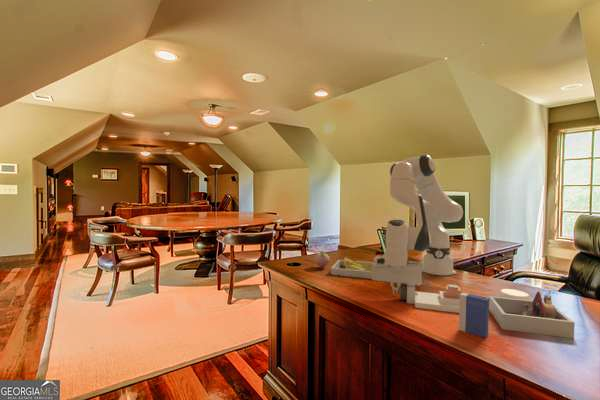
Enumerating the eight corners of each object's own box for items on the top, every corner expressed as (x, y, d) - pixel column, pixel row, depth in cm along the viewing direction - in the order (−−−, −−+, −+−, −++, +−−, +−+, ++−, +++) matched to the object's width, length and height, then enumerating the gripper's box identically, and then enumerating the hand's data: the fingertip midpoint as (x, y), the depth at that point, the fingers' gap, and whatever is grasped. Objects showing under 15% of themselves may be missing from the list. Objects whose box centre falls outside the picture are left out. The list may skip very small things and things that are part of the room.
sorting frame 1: (338, 265, 185) (338, 259, 185) (387, 269, 176) (388, 263, 176) (330, 274, 165) (330, 268, 165) (385, 280, 156) (385, 273, 156)
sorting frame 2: (488, 309, 119) (489, 296, 119) (548, 316, 113) (549, 302, 113) (502, 329, 102) (502, 313, 102) (573, 338, 96) (574, 322, 96)
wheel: (400, 296, 131) (400, 282, 131) (417, 298, 129) (417, 284, 129) (399, 301, 125) (400, 286, 125) (417, 303, 123) (417, 288, 123)
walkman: (488, 334, 98) (489, 297, 97) (486, 338, 96) (487, 299, 95) (461, 327, 103) (462, 291, 103) (458, 329, 101) (459, 293, 101)
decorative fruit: (312, 266, 182) (312, 249, 181) (325, 265, 184) (325, 248, 184) (317, 270, 173) (318, 252, 172) (331, 269, 175) (331, 252, 175)
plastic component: (379, 269, 165) (365, 264, 161) (374, 282, 164) (361, 278, 160) (355, 261, 183) (342, 256, 178) (351, 273, 182) (338, 268, 177)
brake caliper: (510, 307, 114) (535, 284, 111) (538, 329, 111) (564, 306, 108) (519, 319, 104) (547, 294, 101) (551, 344, 101) (580, 318, 98)
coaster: (515, 306, 123) (516, 297, 123) (494, 297, 133) (494, 289, 132) (535, 303, 126) (535, 295, 125) (512, 295, 135) (512, 287, 135)
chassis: (406, 295, 134) (407, 280, 134) (466, 301, 127) (467, 286, 126) (406, 306, 121) (407, 290, 121) (473, 314, 113) (474, 297, 113)
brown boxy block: (445, 297, 125) (445, 283, 125) (458, 299, 124) (459, 284, 123) (446, 302, 120) (446, 287, 120) (461, 303, 119) (461, 288, 119)
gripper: (423, 260, 128) (422, 293, 129) (372, 256, 135) (371, 287, 135) (423, 263, 122) (422, 298, 123) (370, 259, 129) (369, 292, 129)
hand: (395, 292), depth 129 cm, fingers closed
